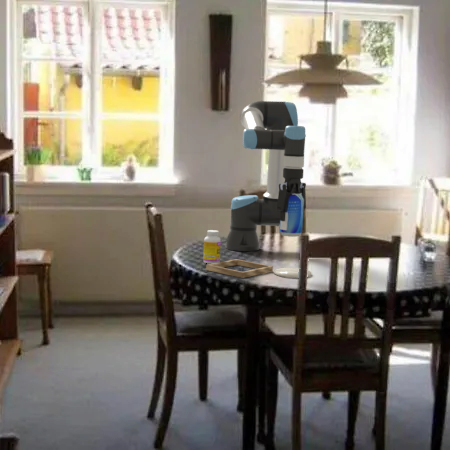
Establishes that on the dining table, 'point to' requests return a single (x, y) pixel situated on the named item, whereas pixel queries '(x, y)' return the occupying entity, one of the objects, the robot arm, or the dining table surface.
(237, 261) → the oak frame
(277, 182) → the robot arm
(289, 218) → the beer can
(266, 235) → the dining table surface
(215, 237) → the supplement bottle
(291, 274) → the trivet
